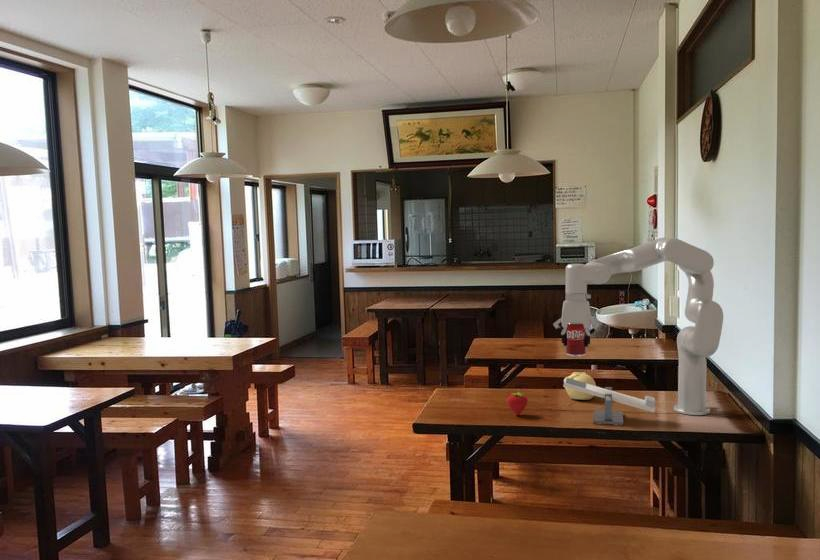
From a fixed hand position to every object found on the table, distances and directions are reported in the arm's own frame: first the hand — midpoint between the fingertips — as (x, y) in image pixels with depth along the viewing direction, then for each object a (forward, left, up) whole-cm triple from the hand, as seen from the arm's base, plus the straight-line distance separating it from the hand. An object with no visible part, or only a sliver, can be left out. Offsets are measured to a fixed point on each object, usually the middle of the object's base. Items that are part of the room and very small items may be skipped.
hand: (575, 345), depth 247 cm
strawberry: (+15, -15, -26) cm, 34 cm away
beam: (-3, +12, -17) cm, 21 cm away
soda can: (0, 0, -4) cm, 4 cm away
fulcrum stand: (-3, +12, -26) cm, 29 cm away
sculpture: (-21, -11, -26) cm, 36 cm away
